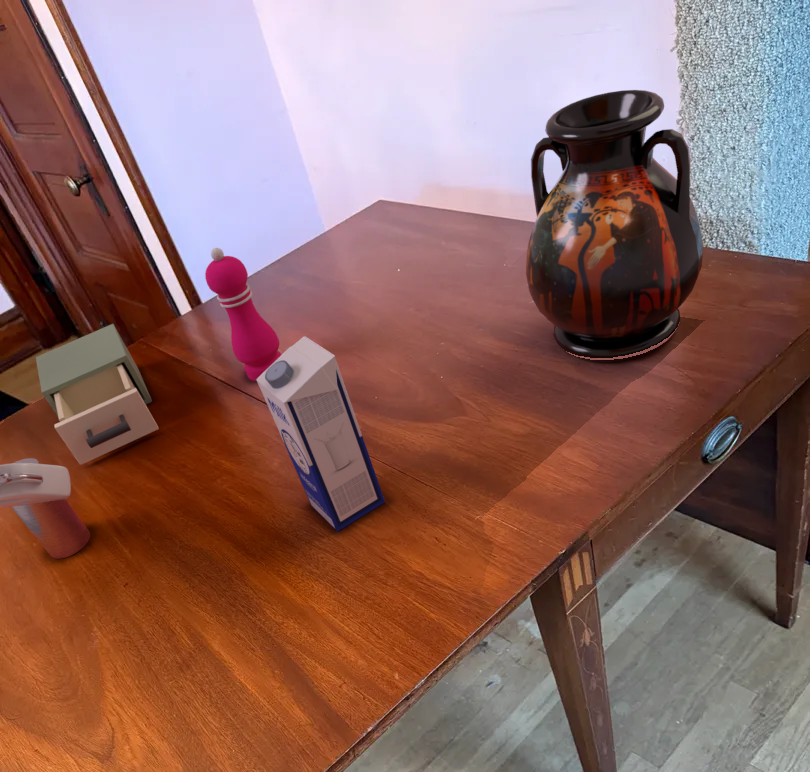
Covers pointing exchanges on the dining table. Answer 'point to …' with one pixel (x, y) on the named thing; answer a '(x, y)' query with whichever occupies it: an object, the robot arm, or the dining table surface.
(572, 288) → the amphora vase
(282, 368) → the milk carton
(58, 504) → the can
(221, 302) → the pepper mill
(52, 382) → the cabinet
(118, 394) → the drawer
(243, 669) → the dining table surface
